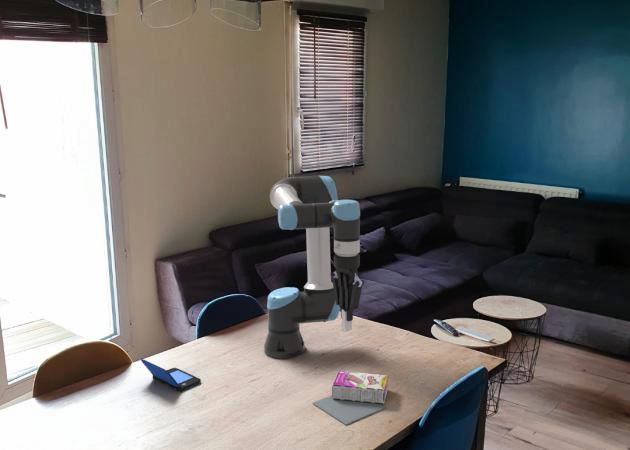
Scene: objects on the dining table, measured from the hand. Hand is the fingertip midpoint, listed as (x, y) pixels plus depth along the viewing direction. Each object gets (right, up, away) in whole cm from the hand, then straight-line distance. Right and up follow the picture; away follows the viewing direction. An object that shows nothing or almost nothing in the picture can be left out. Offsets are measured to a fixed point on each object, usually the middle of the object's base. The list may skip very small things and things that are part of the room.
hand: (346, 329), depth 182 cm
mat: (+1, -24, +4) cm, 24 cm away
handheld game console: (-57, -22, +21) cm, 65 cm away
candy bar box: (-3, -19, +12) cm, 23 cm away
